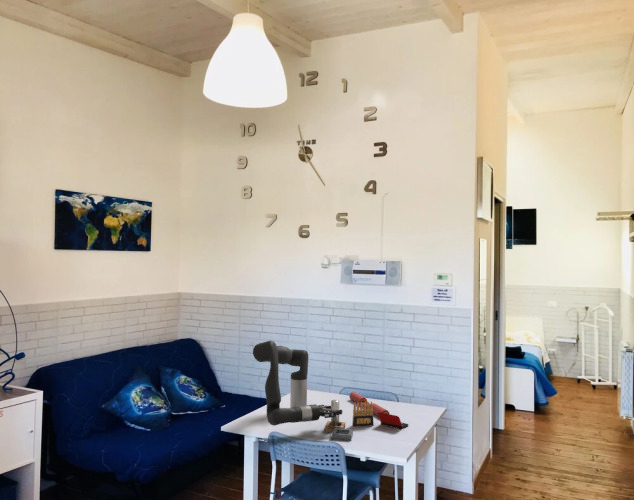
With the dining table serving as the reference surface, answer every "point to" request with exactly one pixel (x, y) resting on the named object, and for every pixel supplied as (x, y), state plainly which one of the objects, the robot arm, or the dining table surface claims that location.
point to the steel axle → (333, 407)
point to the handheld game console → (391, 420)
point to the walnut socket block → (330, 428)
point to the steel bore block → (342, 434)
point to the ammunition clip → (363, 415)
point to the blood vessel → (359, 398)
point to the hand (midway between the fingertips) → (337, 409)
